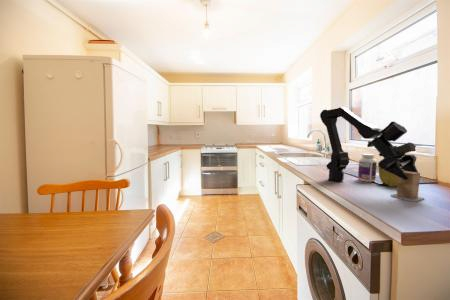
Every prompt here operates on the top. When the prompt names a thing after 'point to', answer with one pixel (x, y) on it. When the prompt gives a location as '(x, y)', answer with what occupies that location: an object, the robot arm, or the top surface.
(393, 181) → the flower pot
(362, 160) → the pill bottle
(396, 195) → the slate tile
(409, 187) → the walnut block
